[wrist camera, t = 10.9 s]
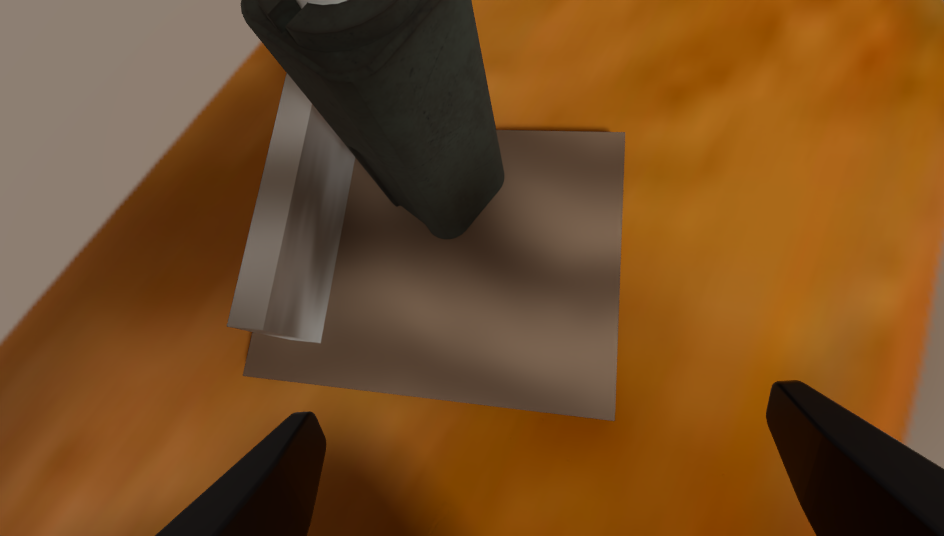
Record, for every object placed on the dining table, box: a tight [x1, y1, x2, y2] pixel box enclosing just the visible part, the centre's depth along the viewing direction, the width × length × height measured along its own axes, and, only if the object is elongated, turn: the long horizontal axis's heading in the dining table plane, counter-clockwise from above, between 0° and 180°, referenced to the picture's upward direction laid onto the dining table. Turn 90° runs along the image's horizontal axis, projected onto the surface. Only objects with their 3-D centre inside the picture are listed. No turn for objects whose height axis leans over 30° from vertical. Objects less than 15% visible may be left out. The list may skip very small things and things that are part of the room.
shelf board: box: [227, 74, 625, 421], centre depth 22 cm, size 14×18×6 cm
